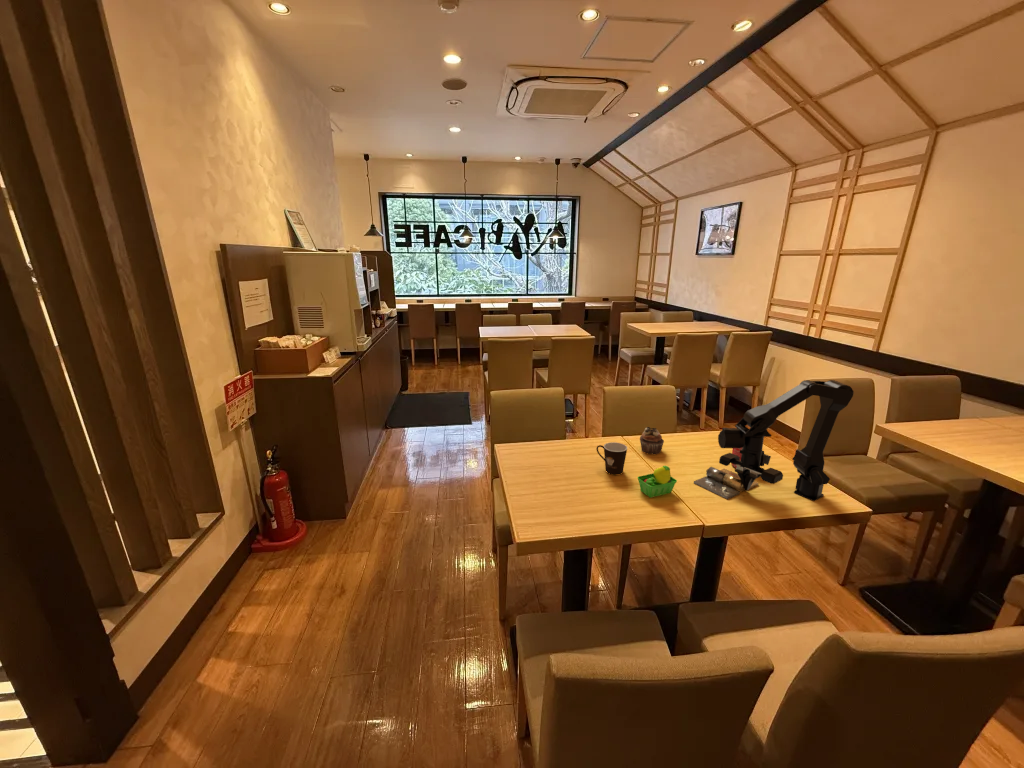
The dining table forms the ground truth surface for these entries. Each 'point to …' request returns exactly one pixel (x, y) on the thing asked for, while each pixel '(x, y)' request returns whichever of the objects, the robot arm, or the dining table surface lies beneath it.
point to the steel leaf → (716, 483)
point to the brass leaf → (734, 480)
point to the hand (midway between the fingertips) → (746, 490)
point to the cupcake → (651, 441)
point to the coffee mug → (614, 457)
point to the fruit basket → (657, 482)
